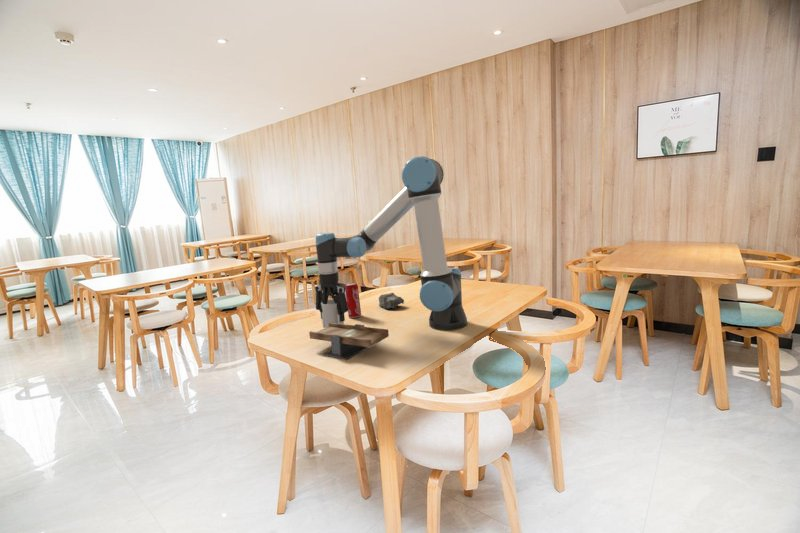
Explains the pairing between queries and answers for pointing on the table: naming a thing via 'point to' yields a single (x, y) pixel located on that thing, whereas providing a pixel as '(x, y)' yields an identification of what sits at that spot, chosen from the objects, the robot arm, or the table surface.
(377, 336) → the beam
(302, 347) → the table surface
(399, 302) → the rock
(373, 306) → the table surface
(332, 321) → the cup
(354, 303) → the beverage can
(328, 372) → the table surface
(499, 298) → the table surface
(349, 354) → the pivot stand
